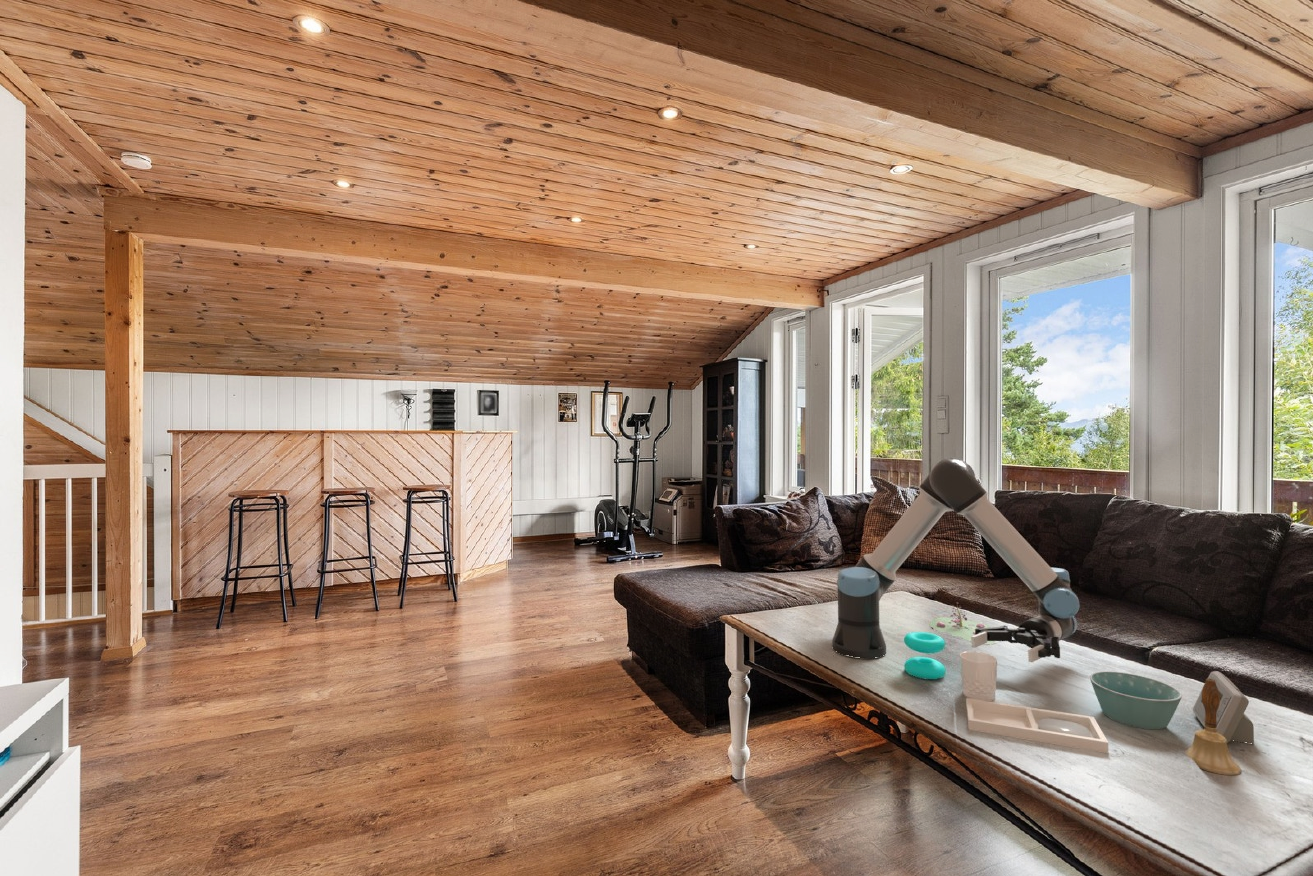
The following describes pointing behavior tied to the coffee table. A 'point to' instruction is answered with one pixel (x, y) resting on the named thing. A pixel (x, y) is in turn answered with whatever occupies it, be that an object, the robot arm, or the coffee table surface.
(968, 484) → the robot arm
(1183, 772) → the coffee table surface
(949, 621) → the plant
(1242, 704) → the digital clock
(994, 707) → the tray
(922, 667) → the donuts
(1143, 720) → the bowl
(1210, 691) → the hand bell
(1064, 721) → the grey flat disc
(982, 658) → the white cup
